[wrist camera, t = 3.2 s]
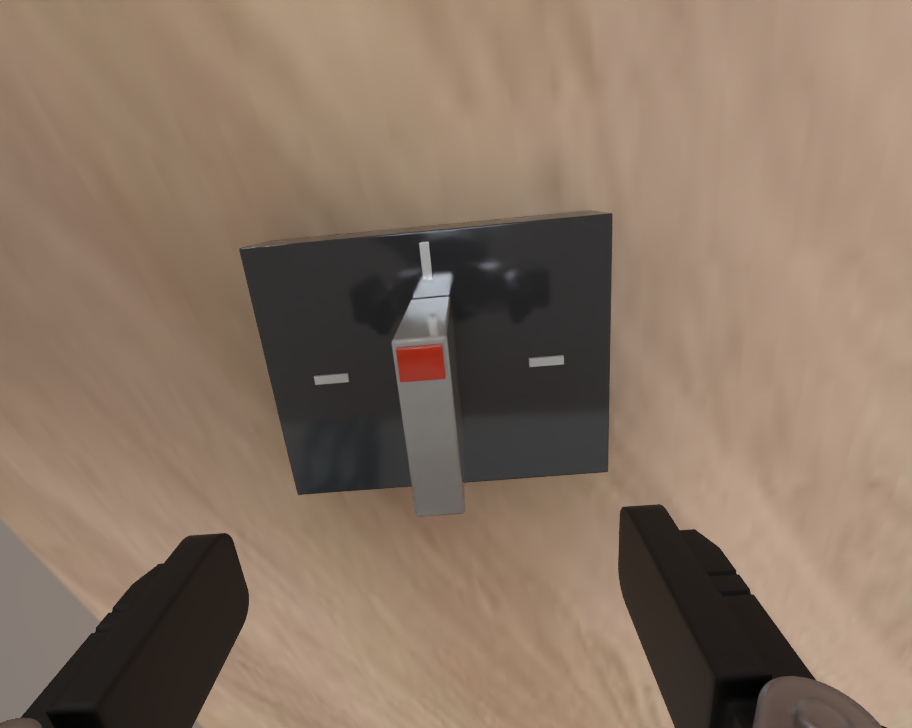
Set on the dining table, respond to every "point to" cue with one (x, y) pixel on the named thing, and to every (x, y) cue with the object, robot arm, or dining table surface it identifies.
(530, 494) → the dining table surface
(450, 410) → the knob
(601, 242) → the dark grey base plate
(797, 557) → the dining table surface
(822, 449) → the dining table surface
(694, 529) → the robot arm
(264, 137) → the dining table surface
